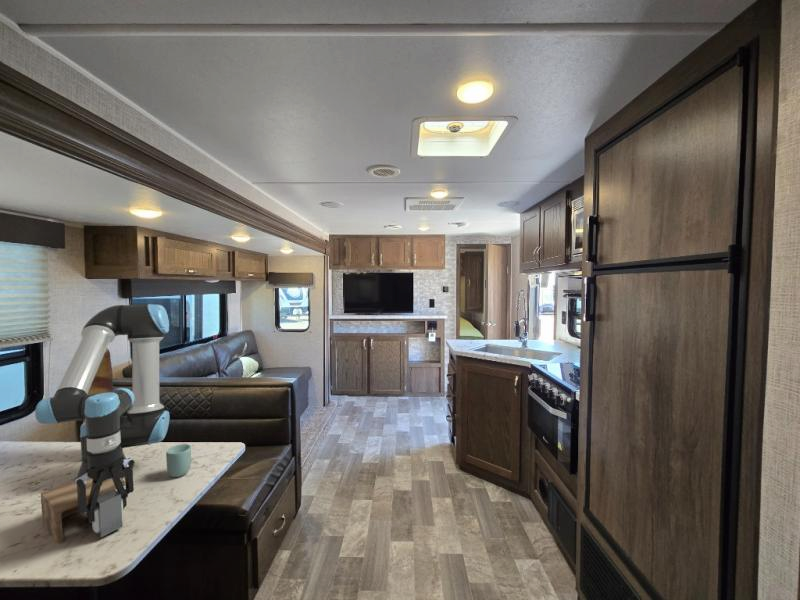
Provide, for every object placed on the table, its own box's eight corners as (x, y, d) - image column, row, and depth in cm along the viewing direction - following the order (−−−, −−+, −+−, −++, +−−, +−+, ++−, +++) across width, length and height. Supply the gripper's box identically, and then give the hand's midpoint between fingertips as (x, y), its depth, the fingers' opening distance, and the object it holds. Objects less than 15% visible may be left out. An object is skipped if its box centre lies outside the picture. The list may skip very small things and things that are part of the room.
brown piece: (42, 525, 105) (40, 493, 104) (108, 496, 119) (106, 468, 118) (58, 543, 98) (56, 509, 97) (126, 511, 111) (124, 481, 111)
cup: (174, 469, 136) (173, 444, 135) (195, 468, 137) (194, 443, 136) (162, 480, 128) (161, 454, 128) (184, 479, 129) (183, 453, 128)
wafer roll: (118, 446, 154) (113, 346, 151) (114, 457, 145) (108, 350, 142) (88, 452, 149) (82, 348, 146) (80, 463, 140) (74, 353, 137)
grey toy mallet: (82, 518, 107) (80, 486, 106) (102, 508, 111) (101, 478, 110) (101, 537, 99) (99, 503, 98) (122, 526, 103) (120, 494, 102)
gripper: (67, 465, 91) (72, 550, 92) (146, 438, 106) (149, 511, 108) (57, 457, 95) (62, 539, 96) (135, 433, 110) (138, 503, 112)
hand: (108, 524), depth 102 cm, fingers closed on grey toy mallet, 5 cm apart
